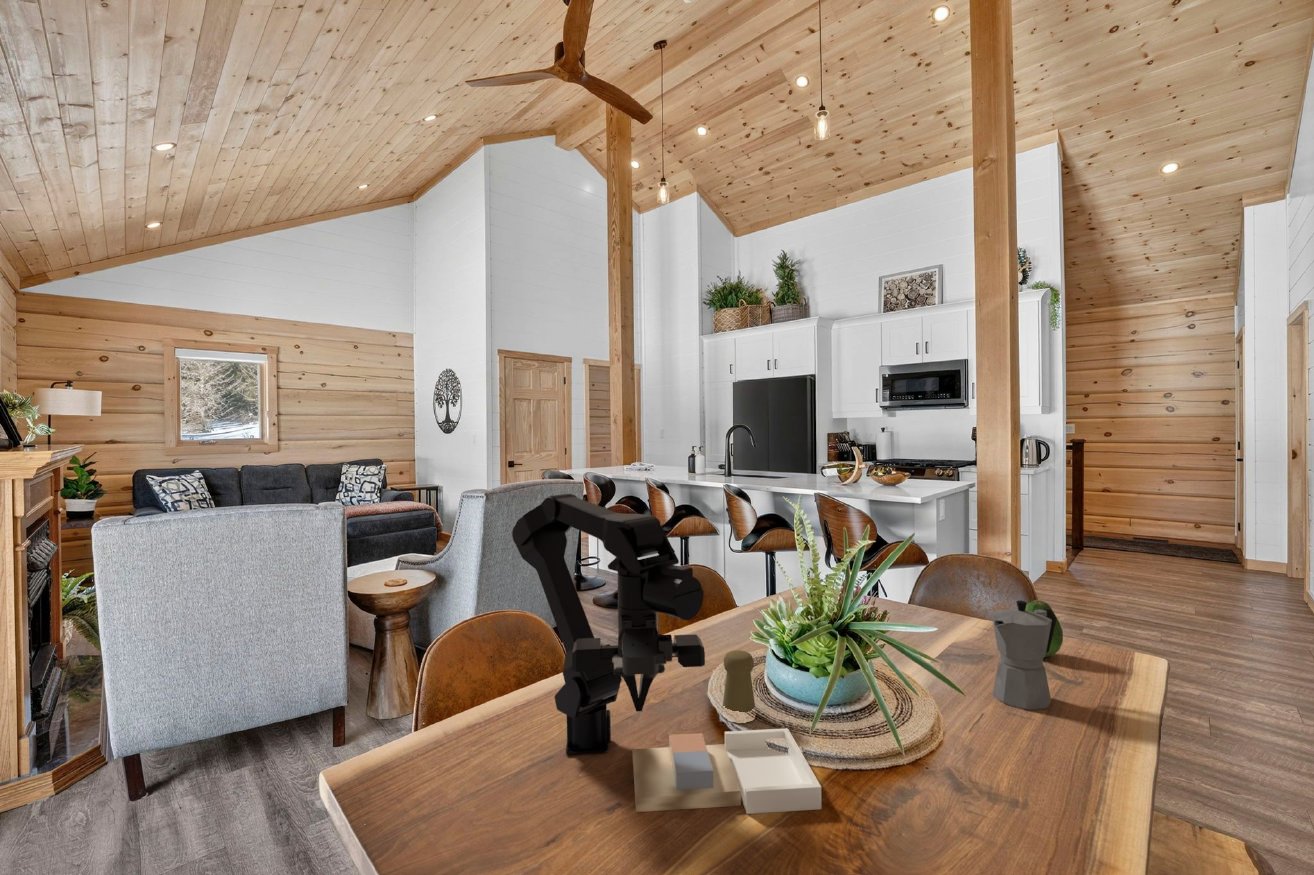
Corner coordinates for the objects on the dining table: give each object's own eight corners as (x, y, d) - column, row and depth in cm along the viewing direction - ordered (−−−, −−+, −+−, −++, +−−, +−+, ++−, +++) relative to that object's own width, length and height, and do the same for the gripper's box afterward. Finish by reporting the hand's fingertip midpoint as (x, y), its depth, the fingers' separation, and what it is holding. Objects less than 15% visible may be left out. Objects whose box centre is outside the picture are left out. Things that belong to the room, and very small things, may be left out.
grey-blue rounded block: (676, 790, 84) (676, 772, 84) (672, 769, 89) (672, 752, 89) (713, 787, 84) (713, 770, 84) (707, 767, 89) (707, 750, 89)
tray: (746, 813, 82) (746, 791, 82) (724, 750, 97) (724, 731, 97) (821, 809, 82) (821, 786, 82) (787, 747, 98) (787, 728, 98)
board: (635, 812, 82) (635, 797, 82) (632, 762, 94) (632, 749, 94) (740, 805, 83) (740, 790, 83) (724, 756, 95) (724, 744, 95)
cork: (755, 725, 105) (755, 660, 105) (720, 721, 106) (719, 658, 106) (757, 708, 111) (756, 647, 111) (723, 705, 112) (722, 645, 112)
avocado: (1011, 653, 135) (1011, 598, 134) (1034, 647, 138) (1035, 593, 138) (1047, 666, 128) (1048, 608, 127) (1071, 659, 131) (1072, 602, 131)
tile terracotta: (672, 769, 89) (672, 752, 89) (669, 750, 94) (669, 734, 94) (707, 767, 89) (707, 750, 89) (702, 748, 94) (702, 733, 94)
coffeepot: (1020, 717, 106) (1020, 612, 106) (972, 695, 115) (972, 598, 115) (1079, 700, 112) (1080, 601, 112) (1030, 680, 121) (1030, 588, 121)
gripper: (568, 624, 81) (570, 742, 82) (710, 620, 83) (711, 735, 83) (573, 599, 93) (575, 703, 93) (698, 595, 94) (699, 697, 95)
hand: (638, 710), depth 91 cm, fingers closed
